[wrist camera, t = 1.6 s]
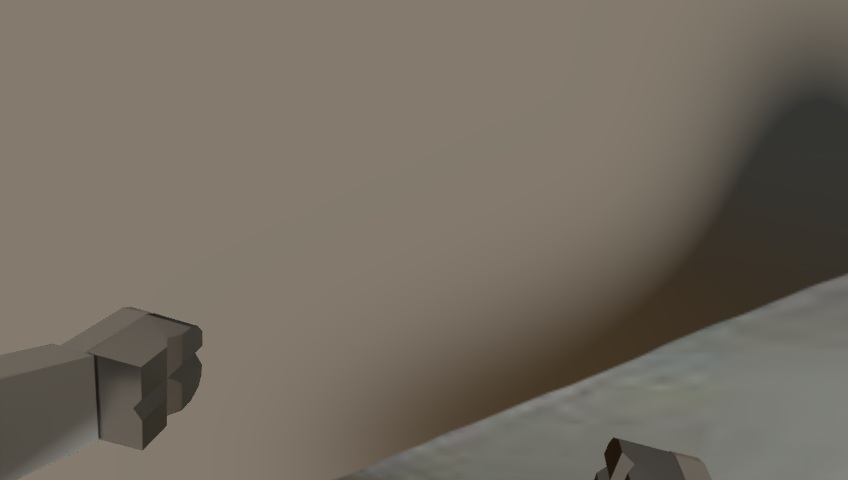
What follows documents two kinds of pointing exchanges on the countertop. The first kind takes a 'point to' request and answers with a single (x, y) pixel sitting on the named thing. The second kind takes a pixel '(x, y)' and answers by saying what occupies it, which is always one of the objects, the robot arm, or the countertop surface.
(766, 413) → the countertop surface
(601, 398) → the countertop surface
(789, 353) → the countertop surface
